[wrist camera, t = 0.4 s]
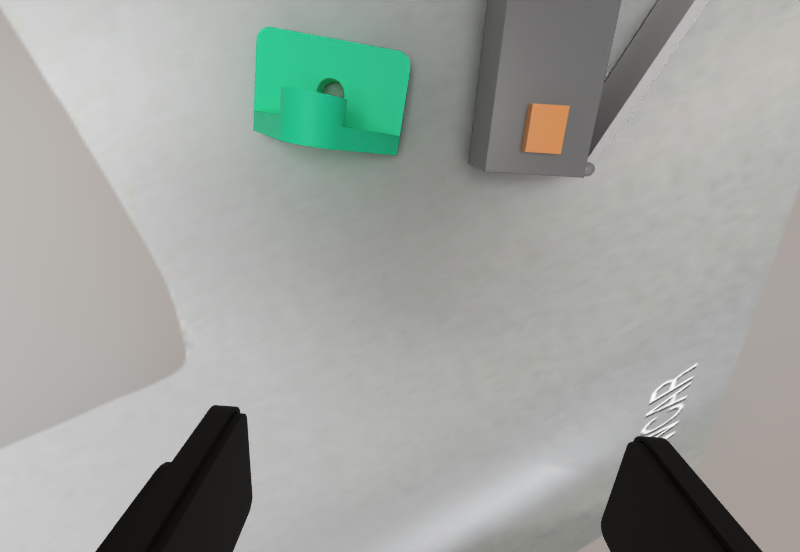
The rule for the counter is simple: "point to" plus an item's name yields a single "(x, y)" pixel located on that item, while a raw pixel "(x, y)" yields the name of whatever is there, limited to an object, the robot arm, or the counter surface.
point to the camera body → (540, 84)
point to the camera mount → (321, 113)
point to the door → (639, 69)
